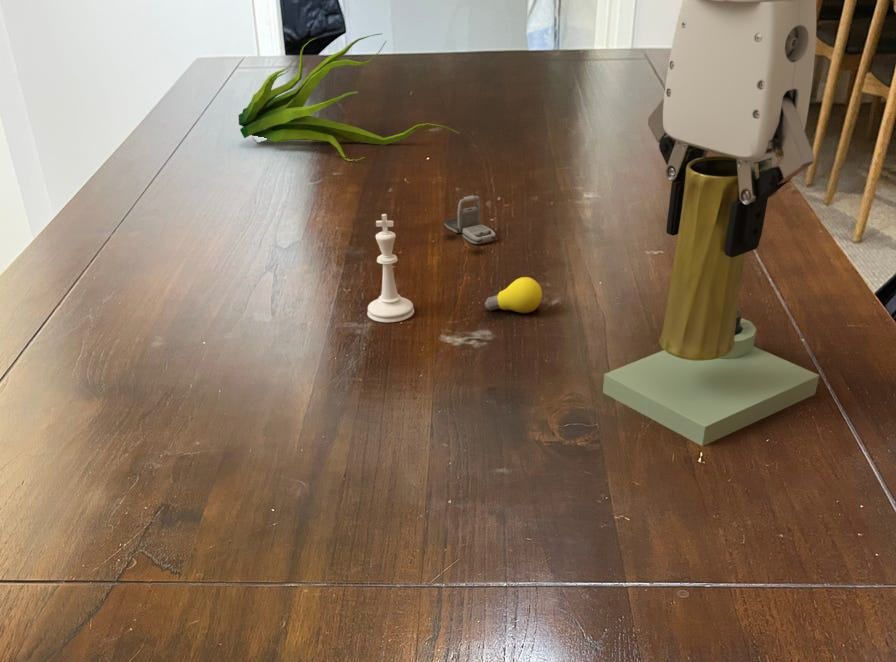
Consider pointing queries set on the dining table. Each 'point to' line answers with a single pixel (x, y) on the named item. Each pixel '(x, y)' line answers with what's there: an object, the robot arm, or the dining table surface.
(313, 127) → the decorative plant
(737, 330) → the button
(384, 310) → the chess piece
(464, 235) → the strap clip
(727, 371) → the green mounting base
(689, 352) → the vase
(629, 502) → the dining table surface
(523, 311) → the light bulb
